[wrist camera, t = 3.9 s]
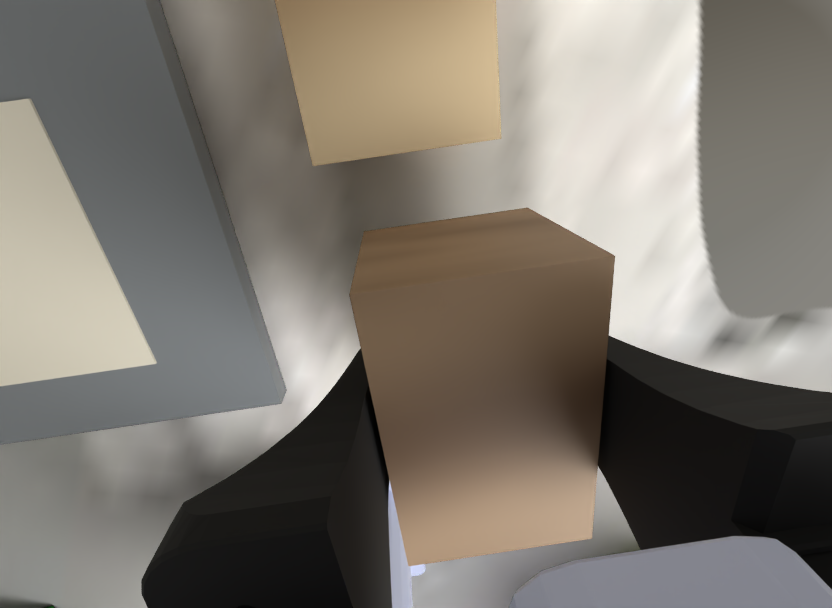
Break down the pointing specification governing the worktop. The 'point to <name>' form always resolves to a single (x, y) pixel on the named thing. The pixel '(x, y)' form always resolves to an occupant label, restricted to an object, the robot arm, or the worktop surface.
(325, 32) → the oak block
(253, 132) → the worktop surface
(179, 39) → the worktop surface
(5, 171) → the board
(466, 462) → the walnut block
